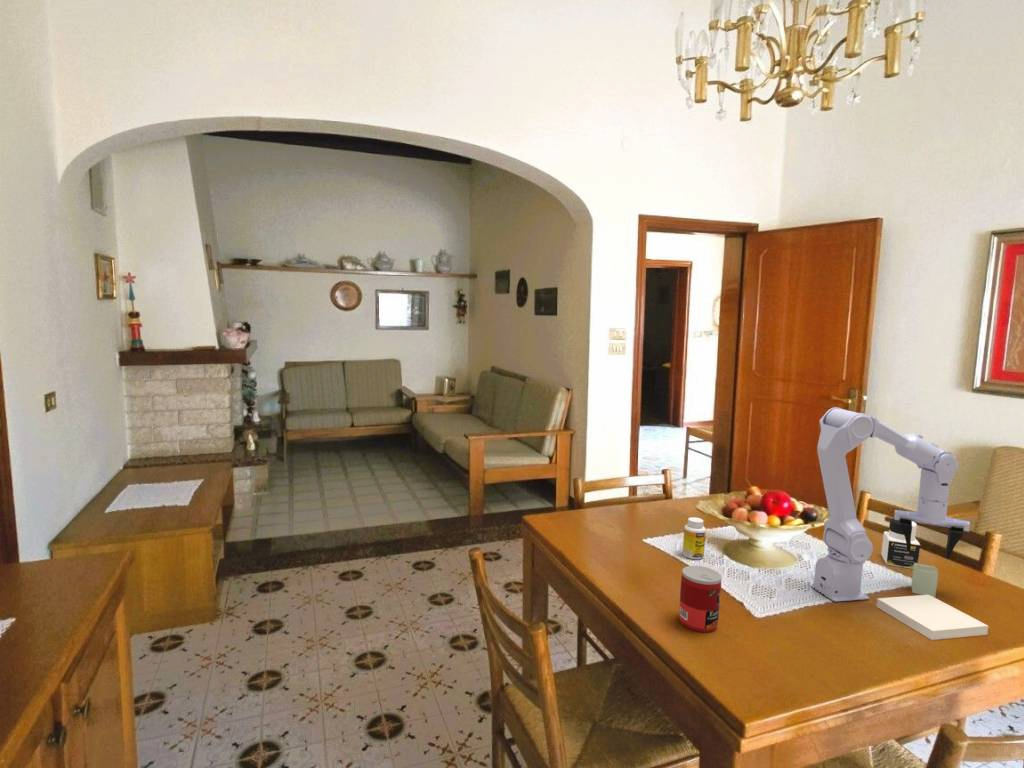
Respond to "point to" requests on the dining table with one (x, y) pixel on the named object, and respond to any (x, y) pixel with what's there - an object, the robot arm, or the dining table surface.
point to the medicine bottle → (899, 546)
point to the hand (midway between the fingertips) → (927, 553)
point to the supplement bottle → (694, 538)
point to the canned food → (699, 598)
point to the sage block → (924, 580)
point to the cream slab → (932, 617)
